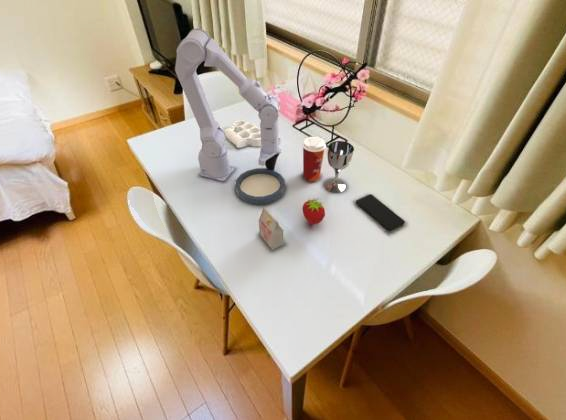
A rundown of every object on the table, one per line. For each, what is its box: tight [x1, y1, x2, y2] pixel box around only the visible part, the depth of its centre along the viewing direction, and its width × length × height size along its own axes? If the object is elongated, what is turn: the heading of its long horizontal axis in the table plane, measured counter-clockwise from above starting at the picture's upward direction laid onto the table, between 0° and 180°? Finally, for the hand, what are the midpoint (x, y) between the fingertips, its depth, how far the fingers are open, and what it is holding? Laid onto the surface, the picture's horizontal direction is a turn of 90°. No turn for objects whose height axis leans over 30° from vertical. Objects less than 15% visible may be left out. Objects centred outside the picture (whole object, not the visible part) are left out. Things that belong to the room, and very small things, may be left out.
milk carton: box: [258, 206, 284, 251], centre depth 82 cm, size 4×7×10 cm, turn 33°
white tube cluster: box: [223, 119, 261, 149], centre depth 124 cm, size 3×18×15 cm
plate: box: [234, 167, 286, 206], centre depth 101 cm, size 16×16×3 cm
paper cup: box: [301, 136, 327, 182], centre depth 102 cm, size 8×8×14 cm
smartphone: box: [355, 194, 406, 232], centre depth 94 cm, size 7×1×15 cm
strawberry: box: [301, 198, 326, 226], centre depth 87 cm, size 6×8×10 cm
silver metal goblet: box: [324, 140, 355, 194], centre depth 98 cm, size 8×8×15 cm
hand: (270, 170), depth 107 cm, fingers closed
